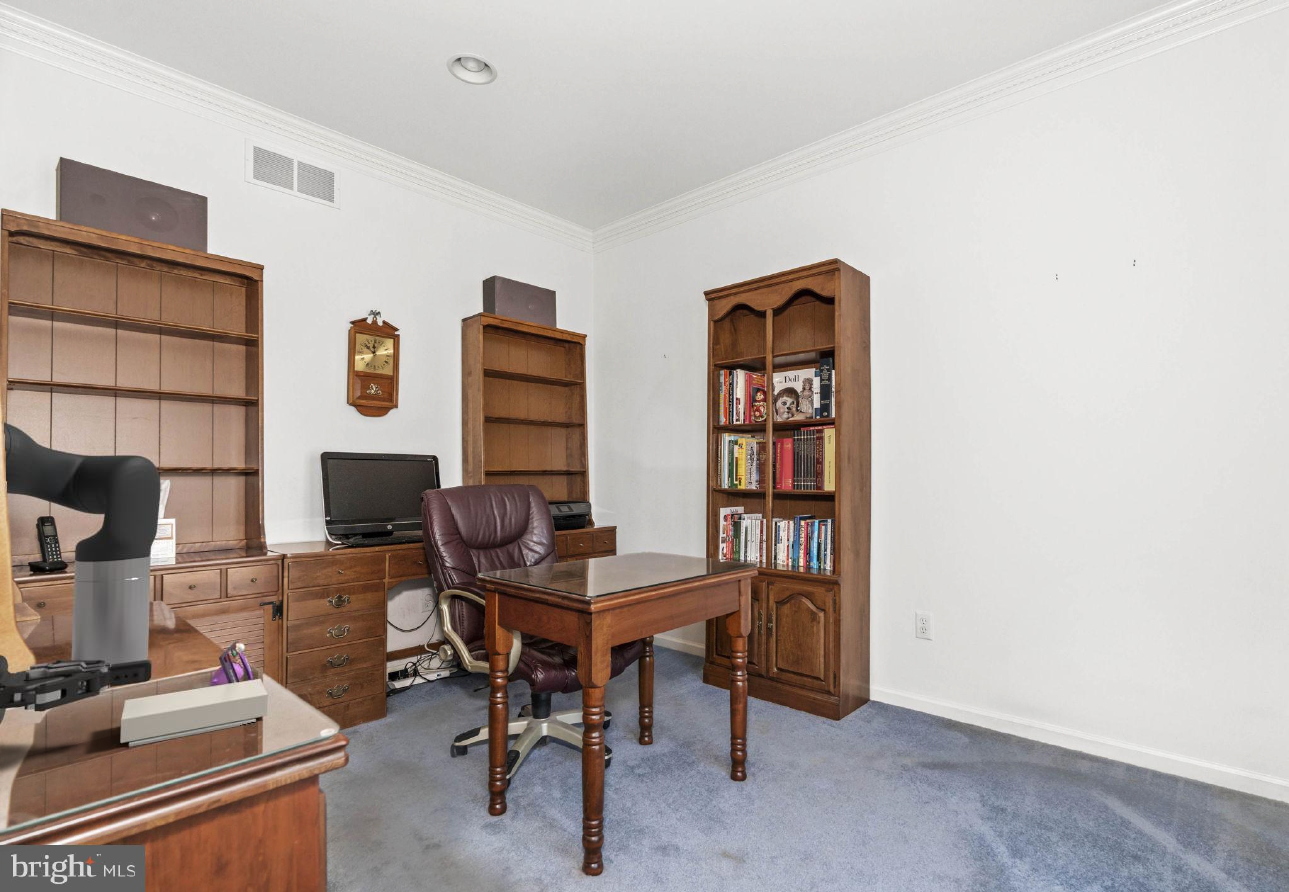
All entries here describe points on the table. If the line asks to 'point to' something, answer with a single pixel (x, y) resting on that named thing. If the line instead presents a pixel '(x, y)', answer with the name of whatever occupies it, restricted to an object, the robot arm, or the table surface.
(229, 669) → the purple frame
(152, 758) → the table surface
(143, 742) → the mat
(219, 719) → the off-white rectangular block
